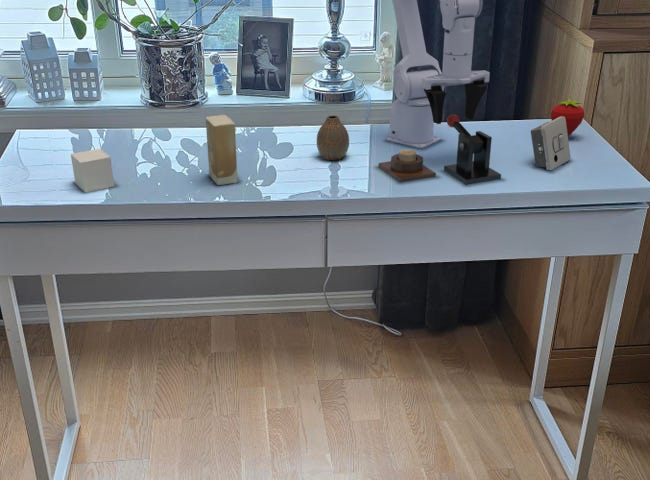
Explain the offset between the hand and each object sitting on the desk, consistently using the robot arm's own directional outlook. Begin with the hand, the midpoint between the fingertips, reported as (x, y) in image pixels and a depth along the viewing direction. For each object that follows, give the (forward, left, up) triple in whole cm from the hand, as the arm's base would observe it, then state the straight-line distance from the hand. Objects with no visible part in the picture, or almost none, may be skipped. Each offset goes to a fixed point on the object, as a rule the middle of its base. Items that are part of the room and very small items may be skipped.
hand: (453, 120), depth 185 cm
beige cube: (-48, -55, -9) cm, 74 cm away
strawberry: (+11, +30, -9) cm, 33 cm away
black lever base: (+8, -4, -9) cm, 12 cm away
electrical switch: (+17, +12, -9) cm, 22 cm away
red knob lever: (+4, -2, -3) cm, 5 cm away
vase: (-21, -13, -9) cm, 27 cm away
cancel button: (-4, -11, -6) cm, 13 cm away
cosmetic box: (-30, -37, -9) cm, 49 cm away
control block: (-4, -11, -9) cm, 14 cm away
